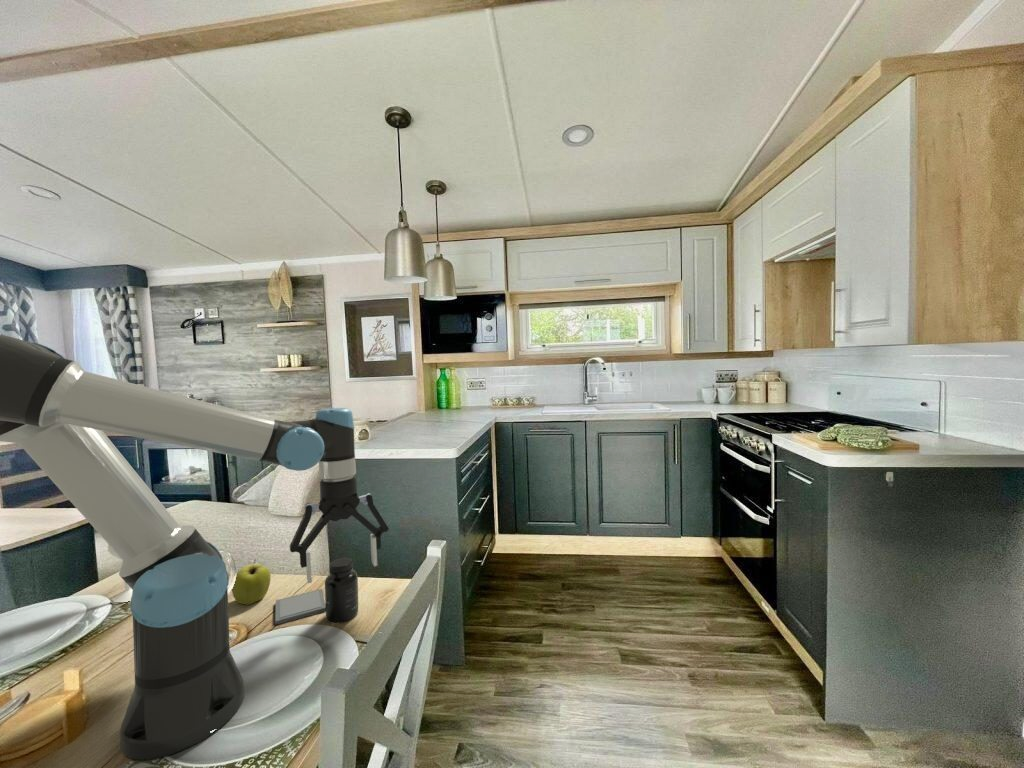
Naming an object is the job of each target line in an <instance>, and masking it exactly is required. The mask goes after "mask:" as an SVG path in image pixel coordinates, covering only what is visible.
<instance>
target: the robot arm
mask: <svg viewBox="0 0 1024 768" xmlns="http://www.w3.org/2000/svg"><path fill="white" fill-rule="evenodd" d="M315 415H316V416H315V418H312V419H308V420H297V421H283V420H276V419H274V418H271V417H266V416H262V415H258V414H254V413H251V412H247V411H243V410H238V409H235V408H230V407H227V406H223V405H219V404H216V403H215V404H214V403H211V402H208V401H205V400H199V399H195V398H192V397H188V396H183V395H179V394H176V393H172V392H169V391H168V392H167V391H165V390H161V389H157V388H152V387H149V386H148V387H147V386H145V385H141V384H136V383H132V382H128V381H124V380H120V379H117V378H113V377H110V376H106V375H101V374H96V373H93V372H89V371H86V370H84V368H83V367H82V365H81V363H80V362H78V361H77V360H71V359H68V358H66V357H64V356H63V355H62V354H60V353H59V352H57V351H56V350H54V349H52V348H51V347H48V346H46V345H43V344H40V343H39V342H34V341H30V340H23V339H19V338H16V337H12V336H10V335H5V334H0V442H4V443H5V442H6V443H11V444H12V443H14V444H16V445H19V446H20V447H21V448H22V450H24V451H25V452H26V454H28V455H29V457H30V458H31V459H32V460H33V462H35V464H36V465H37V466H38V467H39V468H40V470H42V471H43V473H44V474H46V477H48V478H49V479H50V480H51V481H52V483H53V484H54V485H55V486H56V487H57V488H58V490H59V491H61V492H62V494H63V495H64V496H65V497H66V498H67V500H68V501H69V502H70V503H71V504H72V505H73V506H74V507H75V509H77V510H78V512H79V513H80V514H81V515H82V516H83V517H84V519H85V520H86V521H87V522H88V523H89V524H90V526H92V527H93V529H94V530H95V531H96V532H97V533H98V534H99V535H100V537H102V539H103V540H104V541H105V542H106V544H107V545H108V544H109V545H110V546H111V547H112V549H113V550H114V551H115V552H116V553H117V554H118V555H119V556H120V558H121V559H120V560H122V563H121V567H120V570H119V573H118V575H119V577H120V578H121V579H122V580H123V581H124V583H125V582H126V583H127V584H128V585H129V587H130V588H131V589H132V590H133V591H132V597H131V601H130V602H129V609H130V612H131V615H132V632H133V636H132V637H133V664H134V688H133V690H132V694H131V697H130V699H129V701H128V702H129V703H128V706H127V708H126V712H125V714H124V717H123V719H122V723H121V725H120V733H119V739H120V740H119V742H120V750H121V753H123V755H124V756H126V757H128V758H130V759H132V760H133V759H134V760H153V759H158V758H162V757H166V756H170V755H172V754H175V753H178V752H180V751H181V752H182V751H183V750H186V749H188V748H189V747H193V746H194V745H196V744H198V743H199V742H202V741H203V740H205V739H206V738H209V736H211V735H212V734H211V733H210V731H212V730H214V729H218V728H219V729H221V728H222V727H223V726H224V725H225V724H227V723H228V722H229V721H230V720H231V718H233V717H234V715H235V714H236V713H237V712H238V710H239V708H240V707H242V703H243V701H244V698H245V687H244V686H245V685H244V684H245V683H244V678H243V676H242V673H241V671H240V669H239V667H238V665H237V663H236V661H235V659H234V657H233V655H232V653H231V648H230V624H229V623H230V621H229V620H230V619H229V596H228V595H229V594H228V593H229V592H228V590H229V589H228V586H229V578H230V577H229V572H228V570H227V565H226V563H225V561H224V560H223V559H224V558H223V555H222V554H221V552H220V550H219V549H218V548H217V547H216V546H215V545H213V544H212V542H209V541H208V540H206V539H205V538H204V537H203V536H202V535H201V534H200V532H199V531H198V530H197V528H196V527H194V525H188V524H187V525H185V524H180V523H178V521H176V519H175V518H174V517H173V516H172V515H171V513H170V512H169V511H168V510H167V508H166V507H165V506H164V504H163V503H162V502H161V501H160V500H159V498H158V497H157V495H155V493H154V492H153V491H152V490H151V488H149V486H148V485H147V484H146V482H145V481H144V480H143V479H142V478H141V476H140V475H139V474H138V472H137V471H136V470H135V469H134V468H133V466H132V465H131V463H129V461H128V460H127V459H126V458H125V457H124V455H123V454H122V453H121V452H120V450H119V449H118V447H116V446H115V445H114V443H113V442H112V441H111V439H110V438H109V437H108V435H107V434H106V433H105V432H107V433H113V434H118V435H124V436H128V437H135V438H139V439H145V440H149V441H155V442H160V443H165V444H170V445H176V446H181V447H185V448H186V447H187V448H191V449H197V450H203V451H207V452H212V453H217V454H222V455H227V456H233V457H236V458H237V457H239V458H243V459H249V460H252V461H253V460H254V461H257V462H263V463H267V464H272V465H277V466H283V467H284V468H285V469H286V470H291V471H298V472H301V471H307V470H310V469H311V468H313V467H315V466H316V465H317V464H318V470H319V471H318V473H319V475H318V476H319V479H320V481H319V491H320V502H319V503H310V502H307V503H306V504H305V505H304V513H303V516H302V518H301V520H300V522H299V525H298V527H297V529H296V532H295V534H294V536H293V538H292V540H291V543H290V544H289V551H290V553H299V563H300V567H301V569H303V568H306V580H307V581H306V582H307V584H311V583H312V582H313V581H312V564H311V563H312V562H311V549H310V546H311V545H312V544H313V543H314V541H316V539H317V537H318V536H319V535H320V533H321V532H322V530H324V527H325V526H327V525H328V523H329V522H330V521H331V522H338V521H340V520H349V518H350V517H352V516H353V518H355V520H357V521H358V522H359V523H361V524H362V525H363V526H364V527H365V528H367V530H369V531H370V532H371V534H370V535H369V537H370V553H371V554H370V556H371V557H370V559H371V564H372V565H373V567H377V566H378V553H377V552H378V550H380V549H381V548H382V539H381V537H382V534H384V533H386V532H388V531H389V529H390V528H389V526H388V524H387V523H386V522H385V520H384V518H383V516H381V513H380V512H379V511H378V509H377V507H376V506H375V504H374V500H373V496H372V494H371V493H370V492H366V493H364V495H363V494H362V495H361V496H360V495H358V485H357V481H358V480H357V477H356V476H355V475H356V474H357V467H356V465H357V464H356V454H355V450H356V449H355V426H354V424H355V423H354V416H353V415H354V414H353V411H352V410H351V409H350V408H349V407H348V408H346V407H335V408H333V407H332V408H325V409H324V408H323V409H318V410H317V411H316V413H315ZM360 503H362V504H363V505H364V506H367V508H368V509H369V511H370V512H371V514H372V515H373V517H374V518H375V520H376V522H377V523H378V525H379V526H378V527H377V526H376V525H375V524H373V523H372V522H371V521H370V520H369V519H368V518H367V517H366V516H365V515H363V514H362V513H361V512H360V511H359V510H358V509H357V508H358V507H359V504H360ZM318 510H319V511H320V512H321V513H322V514H321V516H320V517H319V519H318V521H317V522H316V523H315V524H314V525H313V527H312V529H311V530H310V531H309V533H308V534H307V535H306V537H305V538H304V539H303V536H304V534H305V531H306V530H307V527H308V525H309V523H310V521H311V519H312V515H313V516H314V515H315V514H316V513H317V511H318ZM302 539H303V540H302ZM301 540H302V541H301ZM219 729H218V730H219Z"/></svg>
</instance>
